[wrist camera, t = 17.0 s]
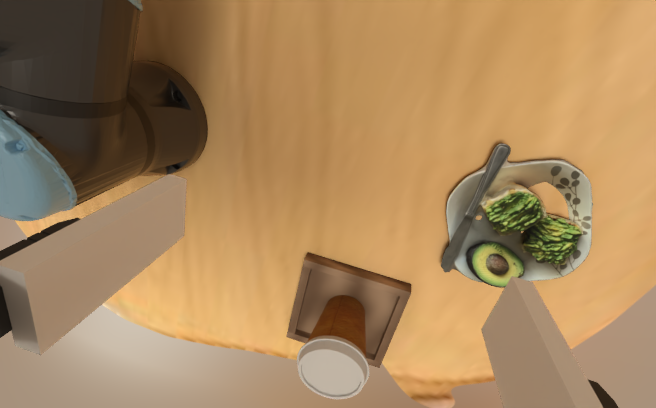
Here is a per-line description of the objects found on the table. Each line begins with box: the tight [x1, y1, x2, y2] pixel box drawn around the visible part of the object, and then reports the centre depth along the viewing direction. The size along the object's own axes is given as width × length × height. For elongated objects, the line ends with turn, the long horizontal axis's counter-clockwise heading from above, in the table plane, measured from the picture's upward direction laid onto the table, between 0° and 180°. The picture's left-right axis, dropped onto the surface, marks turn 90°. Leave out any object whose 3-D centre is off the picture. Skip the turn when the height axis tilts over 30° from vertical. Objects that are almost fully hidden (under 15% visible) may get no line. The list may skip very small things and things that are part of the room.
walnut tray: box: [286, 253, 411, 368], centre depth 54 cm, size 16×16×2 cm
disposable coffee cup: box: [297, 295, 369, 399], centre depth 49 cm, size 10×10×12 cm
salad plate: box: [441, 143, 593, 287], centre depth 42 cm, size 19×18×5 cm
